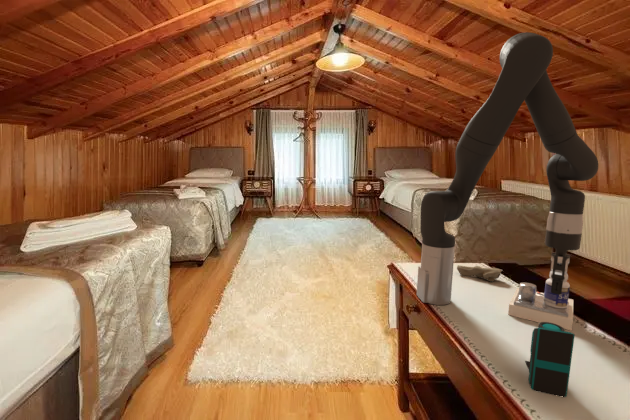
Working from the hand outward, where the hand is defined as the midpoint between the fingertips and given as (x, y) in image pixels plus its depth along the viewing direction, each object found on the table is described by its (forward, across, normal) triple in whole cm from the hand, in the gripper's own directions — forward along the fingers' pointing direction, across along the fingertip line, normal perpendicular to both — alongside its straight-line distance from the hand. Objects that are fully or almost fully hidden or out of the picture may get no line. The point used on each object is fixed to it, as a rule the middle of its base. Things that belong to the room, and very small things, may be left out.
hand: (556, 288), depth 89 cm
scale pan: (+5, 0, +3) cm, 6 cm away
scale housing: (+8, +2, +3) cm, 9 cm away
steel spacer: (+4, 0, +6) cm, 8 cm away
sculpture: (+9, +23, +24) cm, 34 cm away
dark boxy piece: (+8, -33, 0) cm, 34 cm away
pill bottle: (+5, 0, 0) cm, 5 cm away
